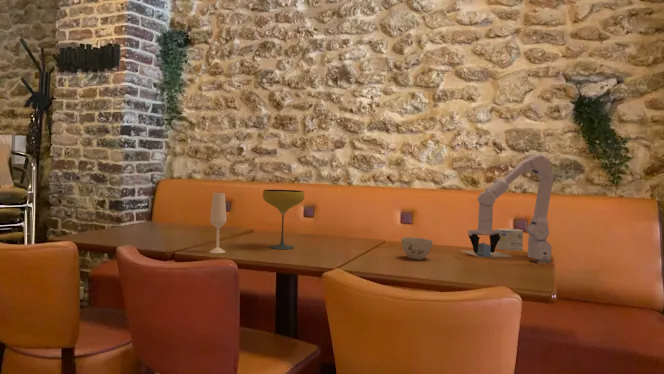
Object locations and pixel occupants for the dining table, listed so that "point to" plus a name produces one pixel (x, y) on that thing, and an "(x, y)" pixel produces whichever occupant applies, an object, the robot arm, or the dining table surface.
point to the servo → (484, 249)
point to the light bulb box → (510, 240)
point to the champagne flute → (218, 217)
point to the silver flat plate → (495, 254)
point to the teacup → (416, 247)
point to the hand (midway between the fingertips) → (483, 252)
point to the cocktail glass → (283, 206)
